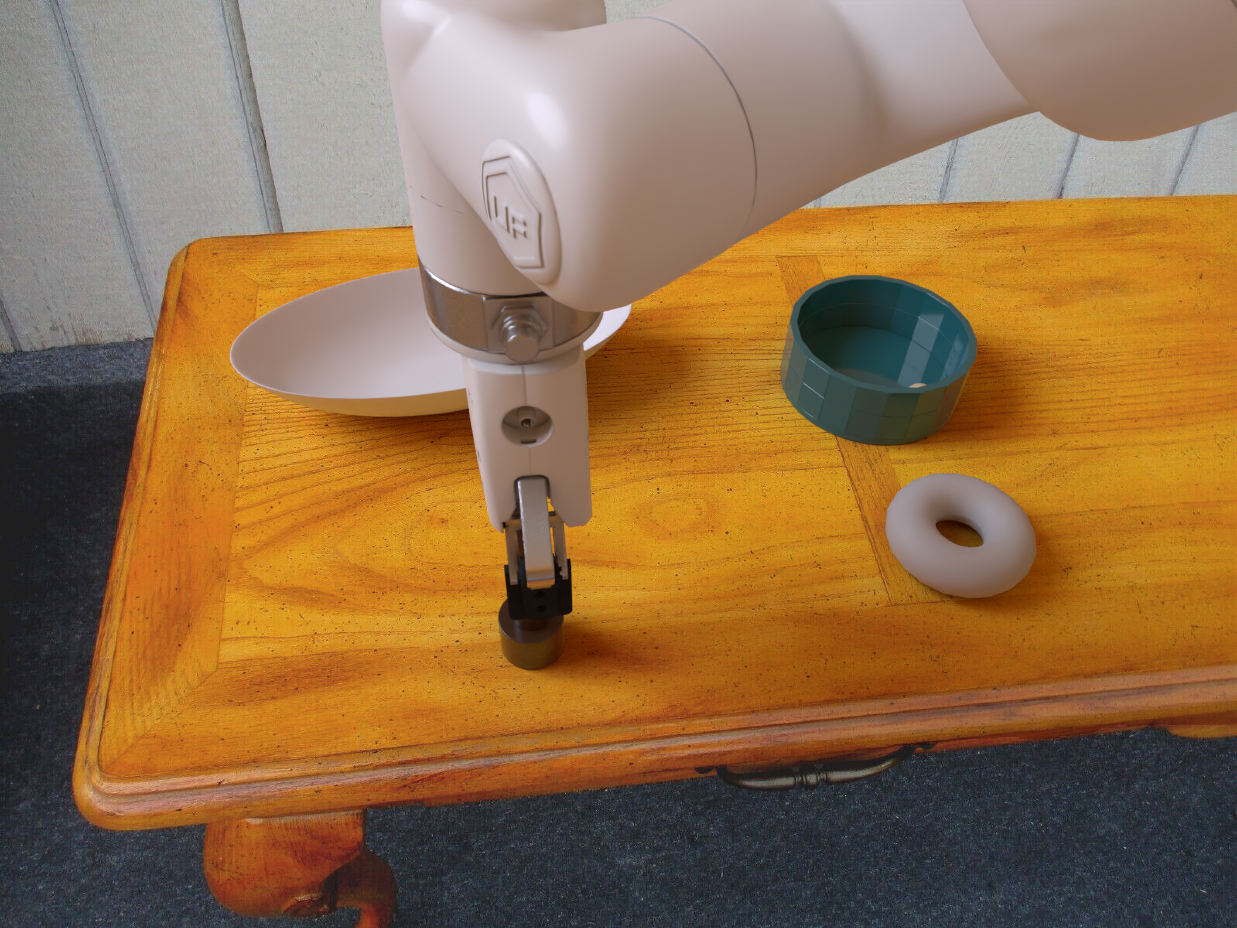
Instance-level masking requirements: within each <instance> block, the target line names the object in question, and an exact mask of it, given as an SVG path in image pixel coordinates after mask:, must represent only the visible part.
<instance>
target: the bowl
mask: <svg viewBox="0 0 1237 928" xmlns="http://www.w3.org/2000/svg"><path fill="white" fill-rule="evenodd" d="M632 308H633V303H631V304H629V305H627V306H624V307H621V308H617V309H613V310H609V311H604V314H603V318H602V320H601V322H600V325H599V326H598V328H597V329H596V331H595V332H594V333H593V334H592V335H591V336H590V337H589V338H588V339H587V340H586V341H585V342H583V345H584V355H585V362H586V361H587V360H588V359H589V358H591V357H592V356H593V355H594V354H596V353H598V351H599V350H600V349H602V347H605V345H606V344H607V343H608V342H609V341H610V340H611V339H612V338H613V337H614V336H615V335H616V334H618V332H619V330H621V329H622V327H623V326H624V325H625V323H626V322H627V320H628V319H629V317H630V315H631V312H632ZM229 360H230V363H231V365H232V367H233V369H234V370H235V371H236V372H237V373H238V374H239V376H240V377H242V378H243V379H245V381H248V382H249V383H251V384H252V385H255V386H256V387H258V388H260V389H262V390H264V391H266V392H268V393H270V394H272V395H275V396H277V397H279V398H282V399H283V400H286V401H289V402H292V403H295V404H296V405H301V406H303V407H306V408H311V409H314V410H318V411H321V412H322V411H323V412H328V413H333V414H339V415H348V416H360V417H382V418H384V417H385V418H386V417H387V418H389V417H395V418H396V417H416V416H431V415H439V414H447V413H453V412H454V413H455V412H459V411H460V412H461V411H464V410H469V406H468V399H467V393H466V386H465V379H464V373H463V366H462V358H461V354H460V353H457V352H455V351H453V350H452V349H450V348H449V347H447V346H446V345H444V344H443V343H442V342H441V341H440V340H439V339H438V338H437V337H436V336H435V334H434V333H433V331H432V330H431V328H430V325H429V323H428V320H427V314H426V306H425V301H424V295H423V289H422V282H421V276H420V270H419V266H418V267H411V268H405V269H399V270H393V271H388V272H383V273H378V274H374V275H369V276H365V277H361V278H358V279H353V280H350V281H346V282H343V283H339V284H335V285H333V286H332V285H331V286H329V287H326V288H323V289H320V290H317V291H314V292H310V293H309V294H306V295H303V296H300V297H298V298H296V299H293V300H290V301H288V302H286V303H285V304H282V305H280V306H278V307H276V308H274V309H271V310H270V311H269V312H267V313H265V314H264V315H261V316H260V317H259V318H257V319H256V320H254V321H252V323H249V325H247V326H246V327H245V328H244V329H243V330H242V331H241V332H240V333H239V335H237V337H236V338H235V340H234V341H233V342H232V344H231V347H230V351H229Z"/></svg>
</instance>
